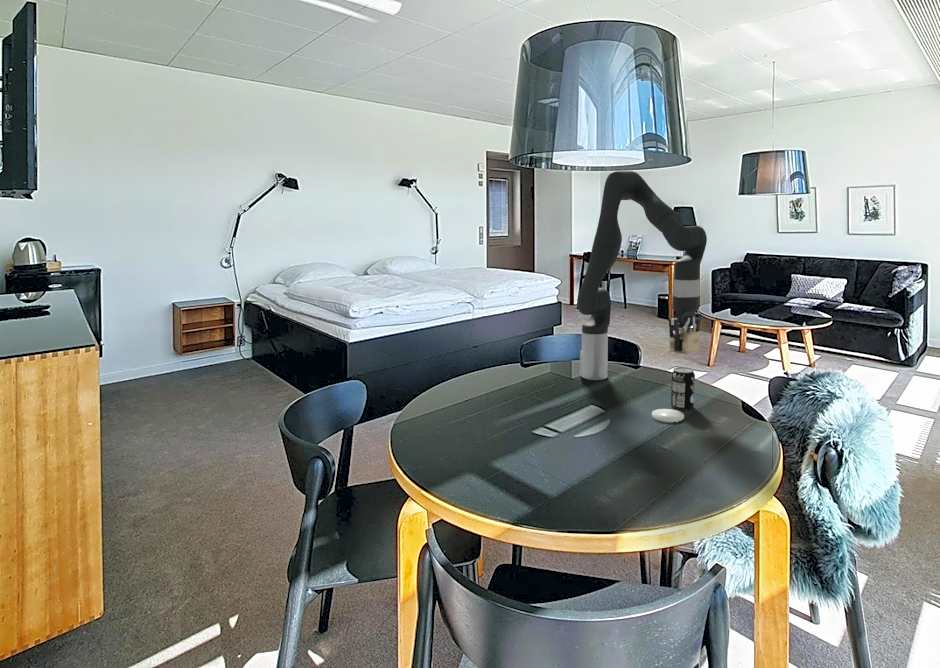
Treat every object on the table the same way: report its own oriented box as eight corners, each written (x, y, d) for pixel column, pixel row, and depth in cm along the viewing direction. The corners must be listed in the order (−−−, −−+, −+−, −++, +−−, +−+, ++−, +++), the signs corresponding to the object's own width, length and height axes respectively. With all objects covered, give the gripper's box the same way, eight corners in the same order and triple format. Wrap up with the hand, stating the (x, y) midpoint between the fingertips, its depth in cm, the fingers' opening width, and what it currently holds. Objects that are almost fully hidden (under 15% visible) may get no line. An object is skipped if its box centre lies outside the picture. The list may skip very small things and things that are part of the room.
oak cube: (669, 351, 168) (670, 332, 167) (680, 348, 172) (681, 329, 171) (687, 354, 164) (688, 334, 163) (698, 351, 167) (699, 331, 166)
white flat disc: (645, 417, 164) (645, 414, 164) (662, 409, 170) (663, 406, 169) (672, 425, 157) (672, 421, 157) (690, 417, 163) (690, 414, 162)
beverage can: (690, 403, 174) (691, 366, 172) (696, 410, 168) (697, 372, 166) (668, 403, 175) (669, 366, 173) (674, 410, 169) (675, 372, 166)
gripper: (687, 290, 172) (685, 343, 175) (661, 296, 163) (659, 351, 166) (710, 292, 166) (708, 347, 169) (684, 298, 157) (682, 355, 161)
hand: (684, 349), depth 168 cm, fingers closed on oak cube, 6 cm apart
